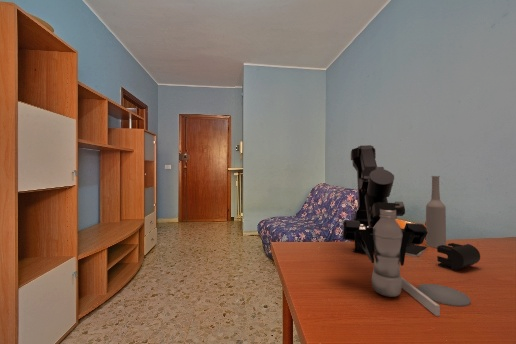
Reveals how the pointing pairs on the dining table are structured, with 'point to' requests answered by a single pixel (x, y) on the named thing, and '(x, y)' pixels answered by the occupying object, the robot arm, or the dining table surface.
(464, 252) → the end cap
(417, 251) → the smartphone
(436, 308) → the frosted wall
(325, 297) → the dining table surface
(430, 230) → the bottle
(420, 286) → the slate mat
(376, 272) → the plastic bottle
